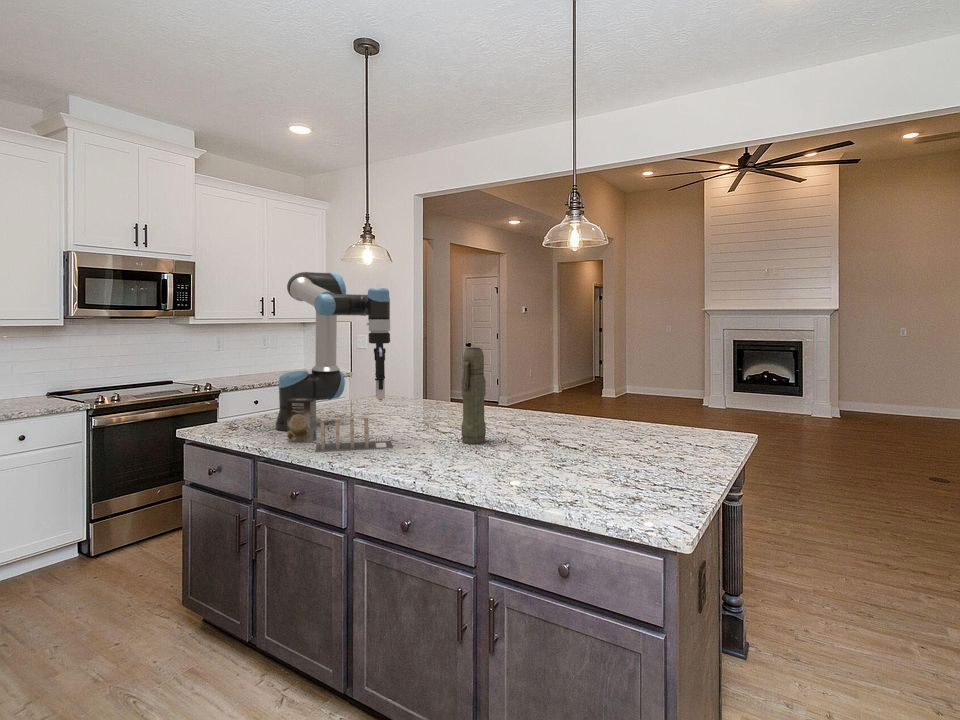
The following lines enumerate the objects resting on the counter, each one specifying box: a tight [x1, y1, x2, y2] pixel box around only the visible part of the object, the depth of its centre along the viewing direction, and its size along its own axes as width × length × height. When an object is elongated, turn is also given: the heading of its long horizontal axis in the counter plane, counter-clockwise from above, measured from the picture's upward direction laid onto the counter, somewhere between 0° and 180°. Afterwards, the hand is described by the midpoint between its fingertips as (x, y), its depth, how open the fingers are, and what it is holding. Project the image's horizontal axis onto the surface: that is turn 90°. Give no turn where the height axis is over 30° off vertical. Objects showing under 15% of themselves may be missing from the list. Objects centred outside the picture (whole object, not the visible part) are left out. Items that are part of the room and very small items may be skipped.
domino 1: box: [320, 418, 326, 450], centre depth 193 cm, size 5×1×10 cm, turn 14°
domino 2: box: [334, 417, 341, 449], centre depth 194 cm, size 5×1×10 cm, turn 14°
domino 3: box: [349, 416, 355, 448], centre depth 196 cm, size 5×1×10 cm, turn 14°
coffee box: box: [286, 398, 317, 444], centre depth 205 cm, size 9×6×16 cm
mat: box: [314, 440, 394, 453], centre depth 197 cm, size 12×26×1 cm, turn 104°
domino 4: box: [363, 416, 370, 448], centre depth 197 cm, size 5×1×10 cm, turn 14°
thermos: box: [461, 346, 487, 445], centre depth 204 cm, size 9×12×35 cm
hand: (380, 397), depth 197 cm, fingers closed on domino 5, 5 cm apart
